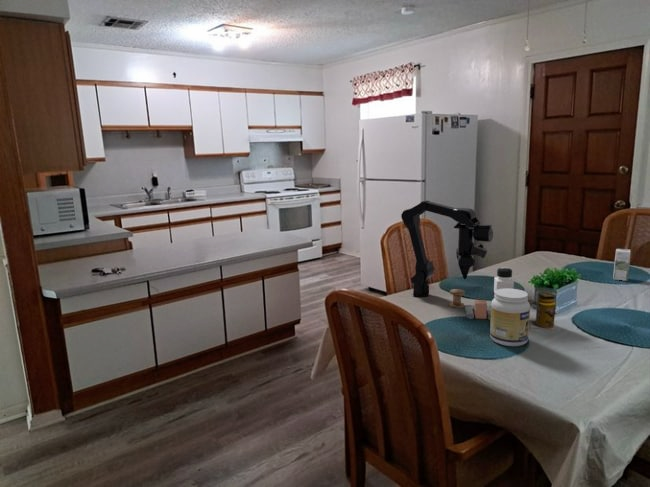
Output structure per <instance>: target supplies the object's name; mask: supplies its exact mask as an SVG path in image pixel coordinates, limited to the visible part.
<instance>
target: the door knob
mask: <svg viewBox="0 0 650 487" xmlns="http://www.w3.org/2000/svg"><path fill="white" fill-rule="evenodd" d="M465 293H466V291H465V290H463V289H460V288H452V289H449V294H450V295H452V301H451V302H449V303H448V304H449V307H450V308H452V309H463V308H464V309H465V303H464V302H462V296H464V295H465Z"/></svg>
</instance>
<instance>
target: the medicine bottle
mask: <svg viewBox="0 0 650 487" xmlns="http://www.w3.org/2000/svg"><path fill="white" fill-rule="evenodd" d="M496 272H497V274H496V276H494V278H493V279H494V281H493V282H494V283H493V292H494V294H495V291H496V290H498V289H504V288H510V289H515V281H514V280H513V269H511V268H510V267H500V268H497V271H496Z"/></svg>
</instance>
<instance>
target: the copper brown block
mask: <svg viewBox="0 0 650 487" xmlns="http://www.w3.org/2000/svg"><path fill="white" fill-rule="evenodd" d="M474 305H475V307H474V313H473V314H474V318H475V319H484V320H485V319H487V314H486V313H487V306H488V303H487V300H485V299H483V300H481V299H479V300H478V299H474Z"/></svg>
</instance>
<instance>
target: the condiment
mask: <svg viewBox="0 0 650 487" xmlns="http://www.w3.org/2000/svg"><path fill="white" fill-rule="evenodd" d="M555 298H556V296H555V294H553V293H552V292H540V293H539V294H538V299H537V301H536V311H535V312H536V313H535V320H533V319H529V327H530V329H531V328H532V329H542V330H554V331H556V330H557V327H556V325H555V315H556V301H555Z"/></svg>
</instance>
